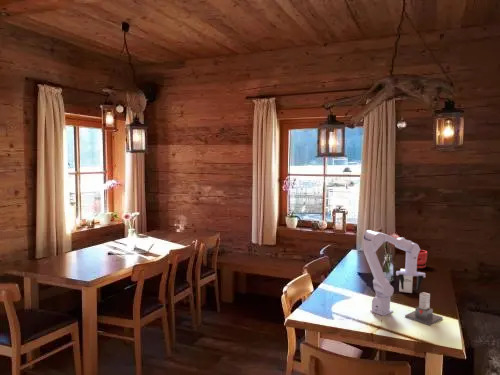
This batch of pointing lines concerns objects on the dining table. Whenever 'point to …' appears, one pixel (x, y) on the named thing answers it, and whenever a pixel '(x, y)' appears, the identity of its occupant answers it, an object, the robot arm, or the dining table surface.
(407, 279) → the supplement box
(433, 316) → the stand base
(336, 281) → the dining table surface
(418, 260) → the plant pot
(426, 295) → the column
